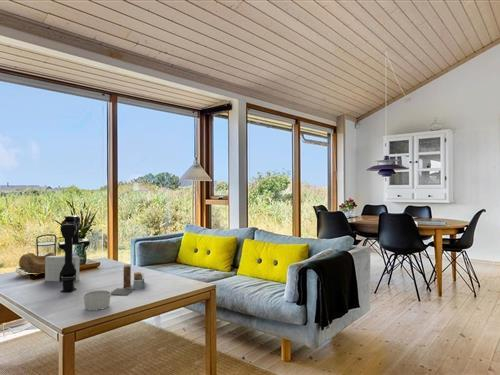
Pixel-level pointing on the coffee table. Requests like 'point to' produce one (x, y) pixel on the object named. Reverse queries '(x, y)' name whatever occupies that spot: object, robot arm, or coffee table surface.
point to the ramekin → (97, 299)
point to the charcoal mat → (121, 291)
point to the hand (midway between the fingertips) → (74, 255)
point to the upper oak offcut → (137, 276)
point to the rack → (139, 282)
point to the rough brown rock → (34, 262)
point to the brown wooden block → (127, 276)
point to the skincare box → (58, 267)
